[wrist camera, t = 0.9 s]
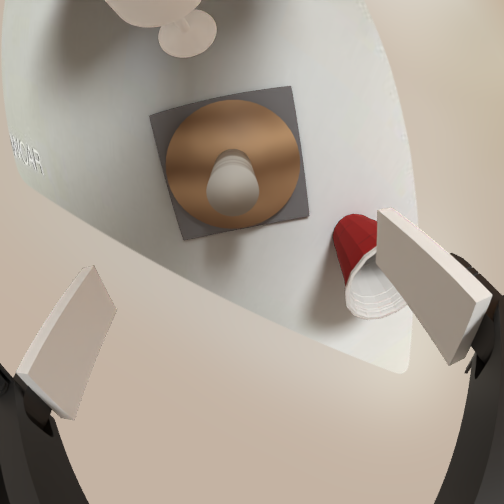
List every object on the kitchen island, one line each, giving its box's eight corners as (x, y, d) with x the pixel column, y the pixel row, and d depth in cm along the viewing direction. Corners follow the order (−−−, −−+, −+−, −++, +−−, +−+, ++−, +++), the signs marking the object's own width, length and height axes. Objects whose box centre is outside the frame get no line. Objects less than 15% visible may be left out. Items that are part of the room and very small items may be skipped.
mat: (150, 115, 27) (149, 115, 27) (290, 86, 27) (291, 85, 26) (184, 238, 35) (183, 240, 35) (308, 214, 34) (309, 216, 34)
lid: (154, 118, 27) (116, 124, 17) (287, 90, 27) (315, 81, 17) (186, 235, 34) (169, 288, 25) (305, 213, 34) (333, 257, 24)
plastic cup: (330, 280, 40) (359, 338, 29) (302, 219, 35) (331, 270, 24) (393, 247, 38) (436, 294, 27) (374, 183, 33) (428, 218, 22)
